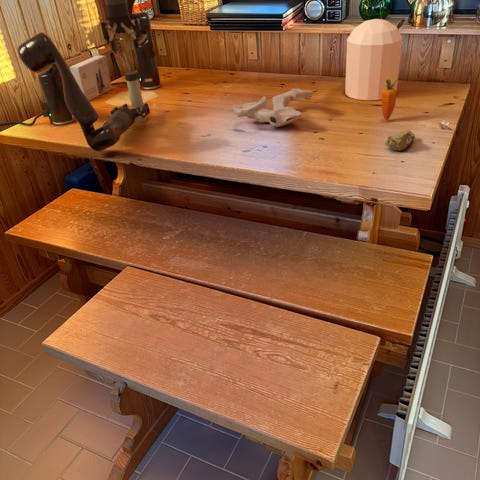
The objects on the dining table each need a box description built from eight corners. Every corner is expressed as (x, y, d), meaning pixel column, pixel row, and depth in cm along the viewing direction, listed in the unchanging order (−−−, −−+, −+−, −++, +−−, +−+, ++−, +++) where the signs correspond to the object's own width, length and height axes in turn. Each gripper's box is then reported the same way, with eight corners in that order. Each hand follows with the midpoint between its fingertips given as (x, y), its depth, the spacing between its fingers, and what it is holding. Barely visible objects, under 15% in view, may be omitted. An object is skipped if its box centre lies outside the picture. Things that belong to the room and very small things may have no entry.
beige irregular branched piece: (230, 133, 167) (227, 101, 161) (244, 110, 188) (241, 81, 182) (308, 133, 161) (308, 99, 155) (313, 109, 182) (314, 78, 176)
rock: (408, 140, 153) (379, 139, 152) (414, 122, 149) (384, 120, 148) (421, 154, 144) (391, 153, 143) (428, 135, 140) (396, 133, 139)
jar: (132, 121, 188) (122, 75, 177) (140, 117, 191) (131, 71, 180) (140, 122, 186) (131, 76, 175) (148, 119, 189) (139, 72, 178)
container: (366, 103, 181) (371, 27, 166) (334, 91, 198) (337, 19, 182) (408, 92, 188) (417, 17, 172) (374, 81, 204) (379, 11, 188)
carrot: (394, 118, 167) (398, 76, 158) (393, 123, 163) (397, 80, 154) (379, 117, 168) (383, 75, 160) (378, 122, 165) (382, 80, 156)
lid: (122, 80, 178) (121, 74, 177) (132, 76, 182) (131, 70, 180) (132, 81, 176) (130, 75, 175) (141, 77, 179) (140, 71, 178)
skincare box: (87, 102, 214) (77, 67, 204) (78, 102, 215) (68, 66, 206) (113, 88, 229) (105, 54, 220) (104, 88, 231) (96, 54, 222)
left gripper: (137, 110, 167) (151, 95, 180) (100, 111, 170) (117, 96, 183) (141, 130, 172) (155, 114, 185) (106, 130, 174) (122, 115, 187)
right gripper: (138, -2, 166) (147, 46, 175) (99, 2, 167) (110, 49, 177) (132, 1, 160) (142, 51, 169) (92, 5, 161) (104, 54, 171)
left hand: (136, 105), depth 184 cm, fingers open, 8 cm apart
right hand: (126, 50), depth 173 cm, fingers open, 7 cm apart
